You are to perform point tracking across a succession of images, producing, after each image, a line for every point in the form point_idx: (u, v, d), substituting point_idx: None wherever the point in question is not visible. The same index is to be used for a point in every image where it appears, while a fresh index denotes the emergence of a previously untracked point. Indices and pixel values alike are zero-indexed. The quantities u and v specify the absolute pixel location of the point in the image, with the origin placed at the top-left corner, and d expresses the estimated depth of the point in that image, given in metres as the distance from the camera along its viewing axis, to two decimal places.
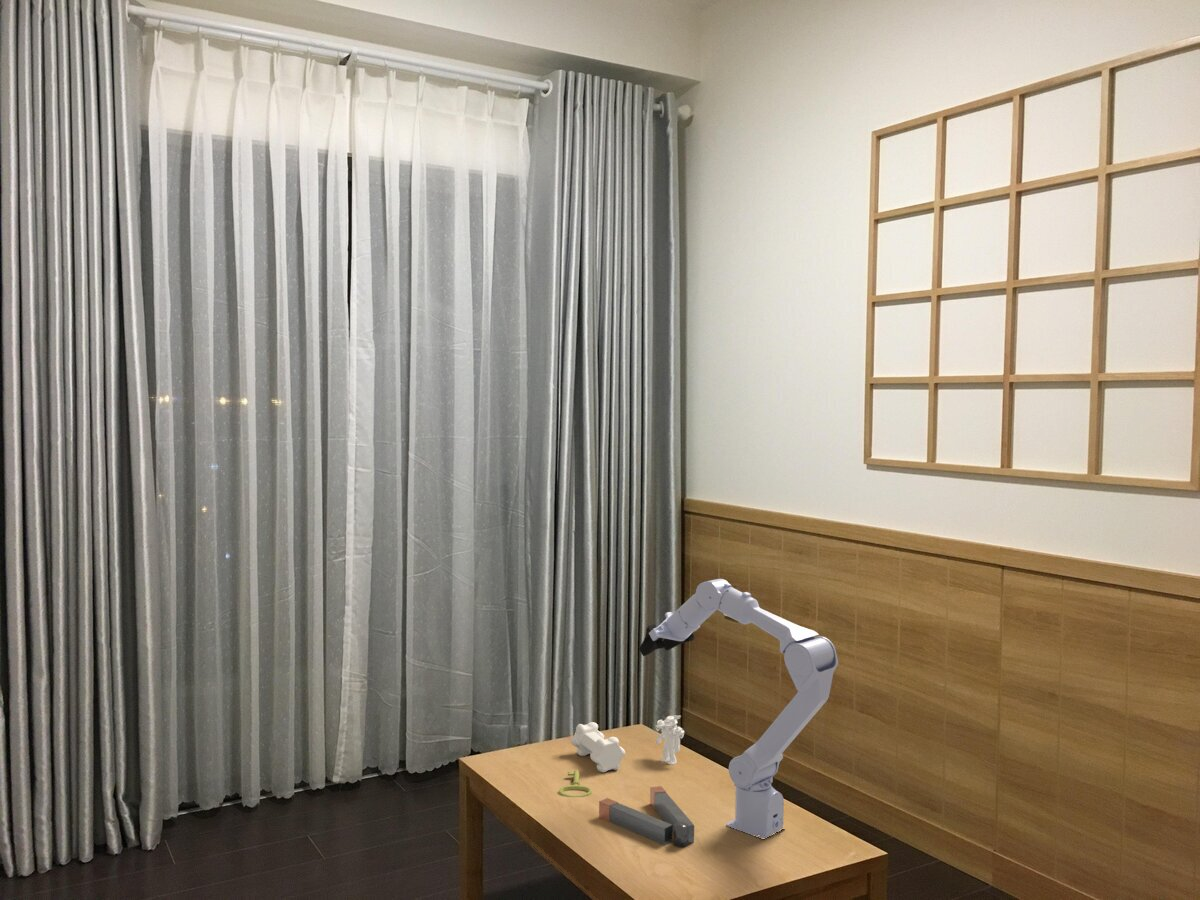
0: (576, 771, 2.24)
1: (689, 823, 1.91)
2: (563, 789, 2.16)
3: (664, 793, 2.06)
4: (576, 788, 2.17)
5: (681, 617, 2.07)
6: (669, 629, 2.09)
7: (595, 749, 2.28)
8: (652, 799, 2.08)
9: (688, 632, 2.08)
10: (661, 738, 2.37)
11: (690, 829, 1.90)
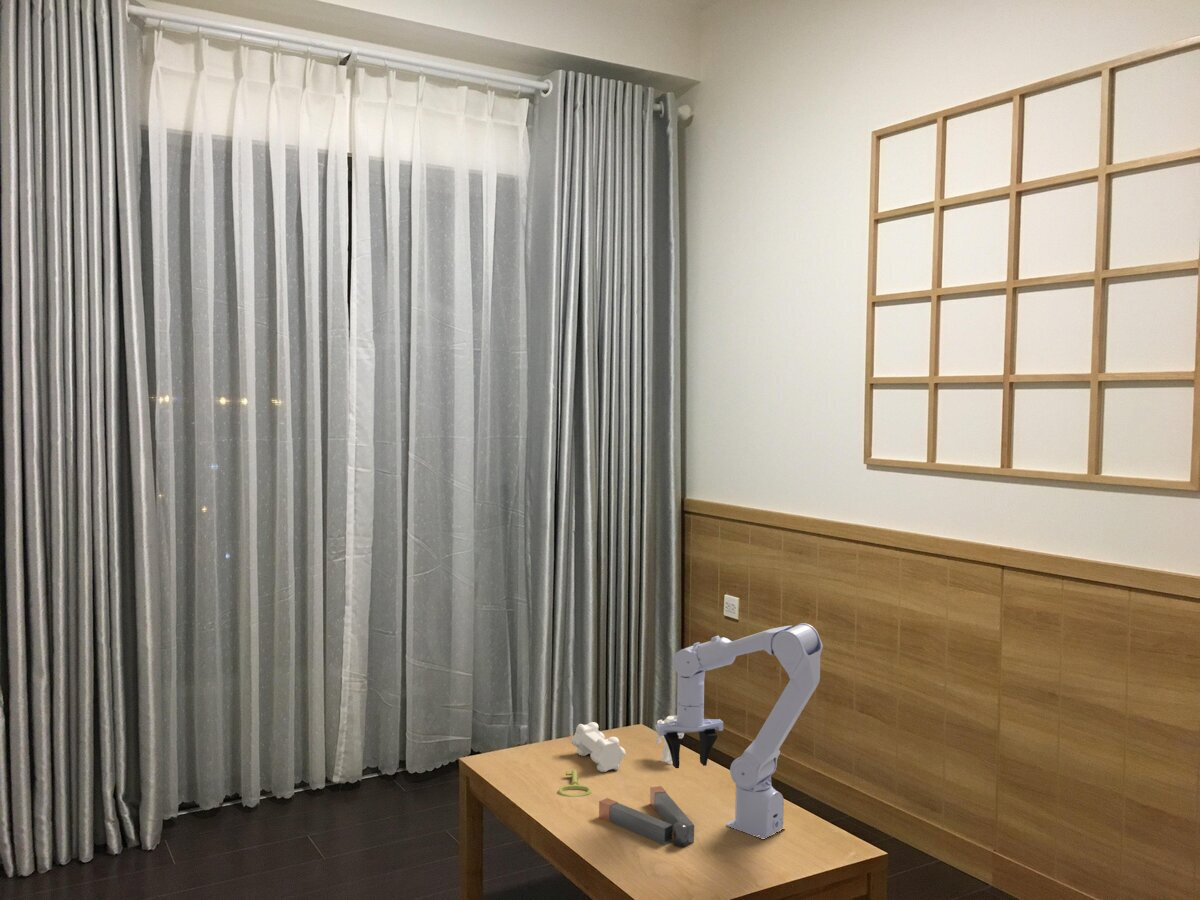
0: (574, 771, 2.24)
1: (689, 823, 1.91)
2: (562, 789, 2.16)
3: (664, 793, 2.06)
4: (575, 788, 2.17)
5: (683, 704, 2.04)
6: (677, 723, 2.06)
7: (595, 749, 2.28)
8: (652, 799, 2.08)
9: (691, 715, 2.04)
10: (661, 738, 2.37)
11: (690, 829, 1.90)
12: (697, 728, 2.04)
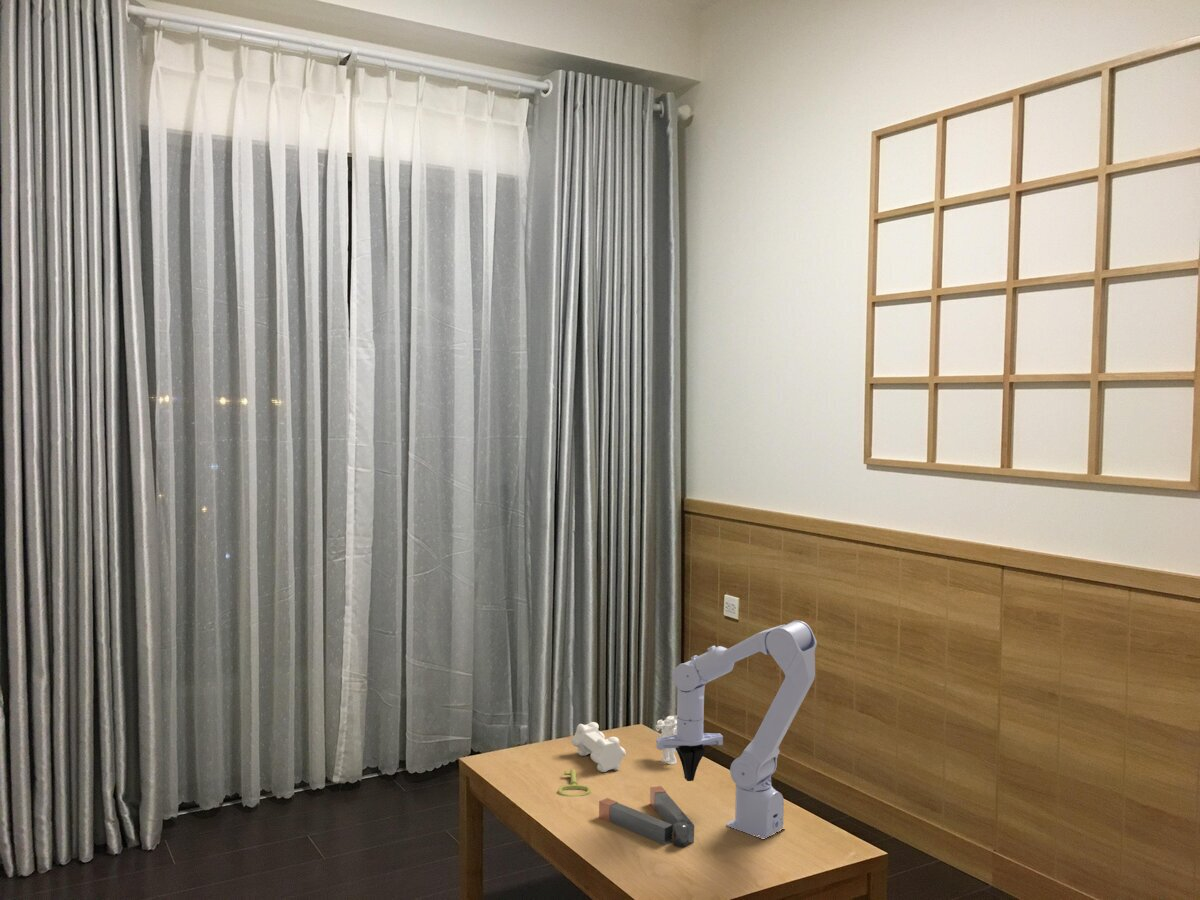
0: (572, 770, 2.24)
1: (689, 823, 1.91)
2: (562, 789, 2.16)
3: (664, 793, 2.06)
4: (574, 787, 2.17)
5: (683, 719, 2.04)
6: (677, 737, 2.06)
7: (595, 749, 2.29)
8: (652, 799, 2.08)
9: (691, 730, 2.04)
10: None
11: (690, 829, 1.90)
12: (697, 742, 2.04)
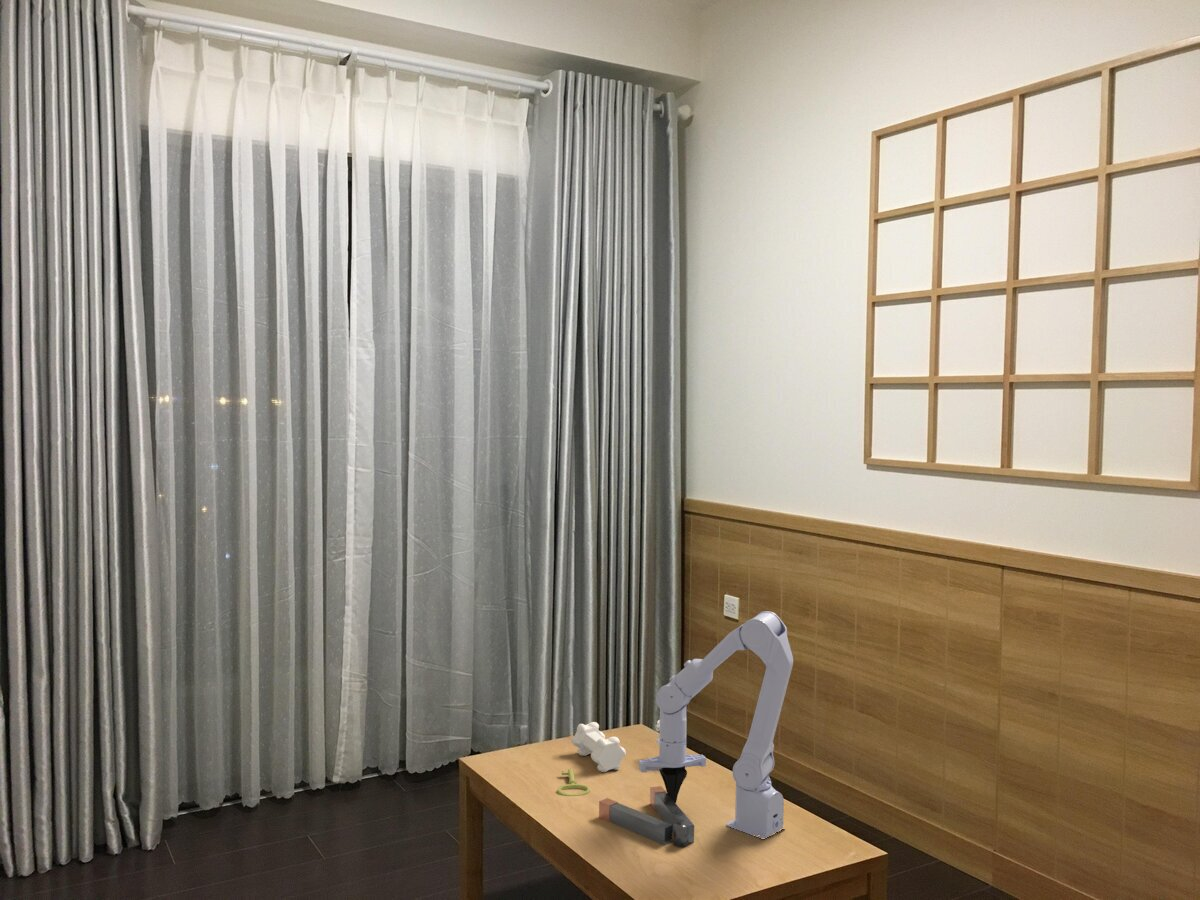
0: (570, 770, 2.24)
1: (689, 823, 1.91)
2: (561, 788, 2.16)
3: (664, 793, 2.06)
4: (573, 787, 2.17)
5: (667, 741, 2.03)
6: (659, 759, 2.05)
7: (596, 749, 2.29)
8: (652, 799, 2.08)
9: (673, 752, 2.03)
10: None
11: (690, 829, 1.90)
12: (679, 764, 2.03)
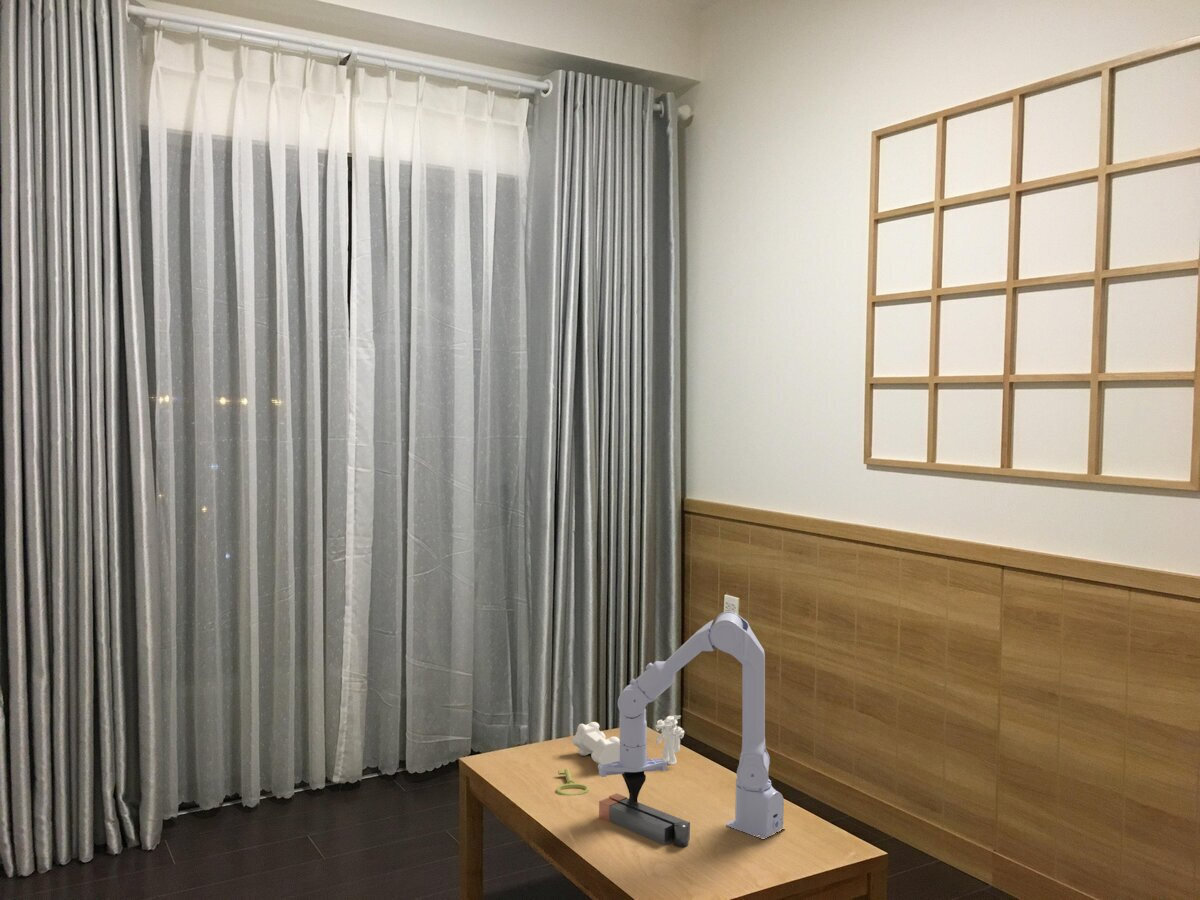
0: (567, 770, 2.24)
1: (684, 821, 1.92)
2: (560, 788, 2.16)
3: (627, 799, 2.03)
4: (572, 786, 2.18)
5: (630, 746, 2.01)
6: (620, 764, 2.03)
7: (596, 749, 2.29)
8: None
9: (633, 756, 2.01)
10: (661, 738, 2.37)
11: None
12: (639, 769, 2.01)
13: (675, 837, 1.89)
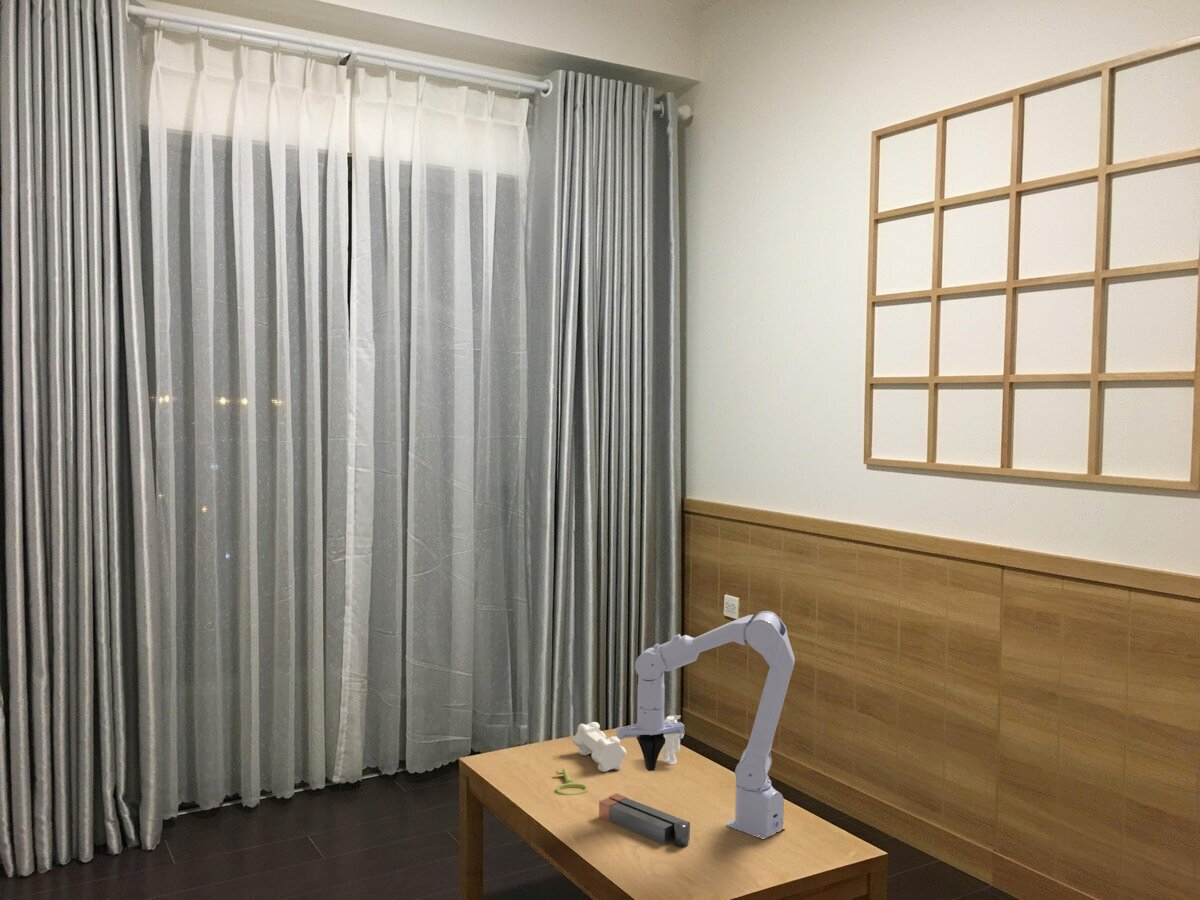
0: (565, 769, 2.25)
1: (684, 821, 1.92)
2: (559, 788, 2.16)
3: (627, 799, 2.03)
4: (571, 786, 2.18)
5: (646, 708, 2.02)
6: (637, 727, 2.03)
7: (596, 749, 2.29)
8: None
9: (651, 718, 2.01)
10: None
11: None
12: (657, 731, 2.02)
13: (675, 837, 1.89)
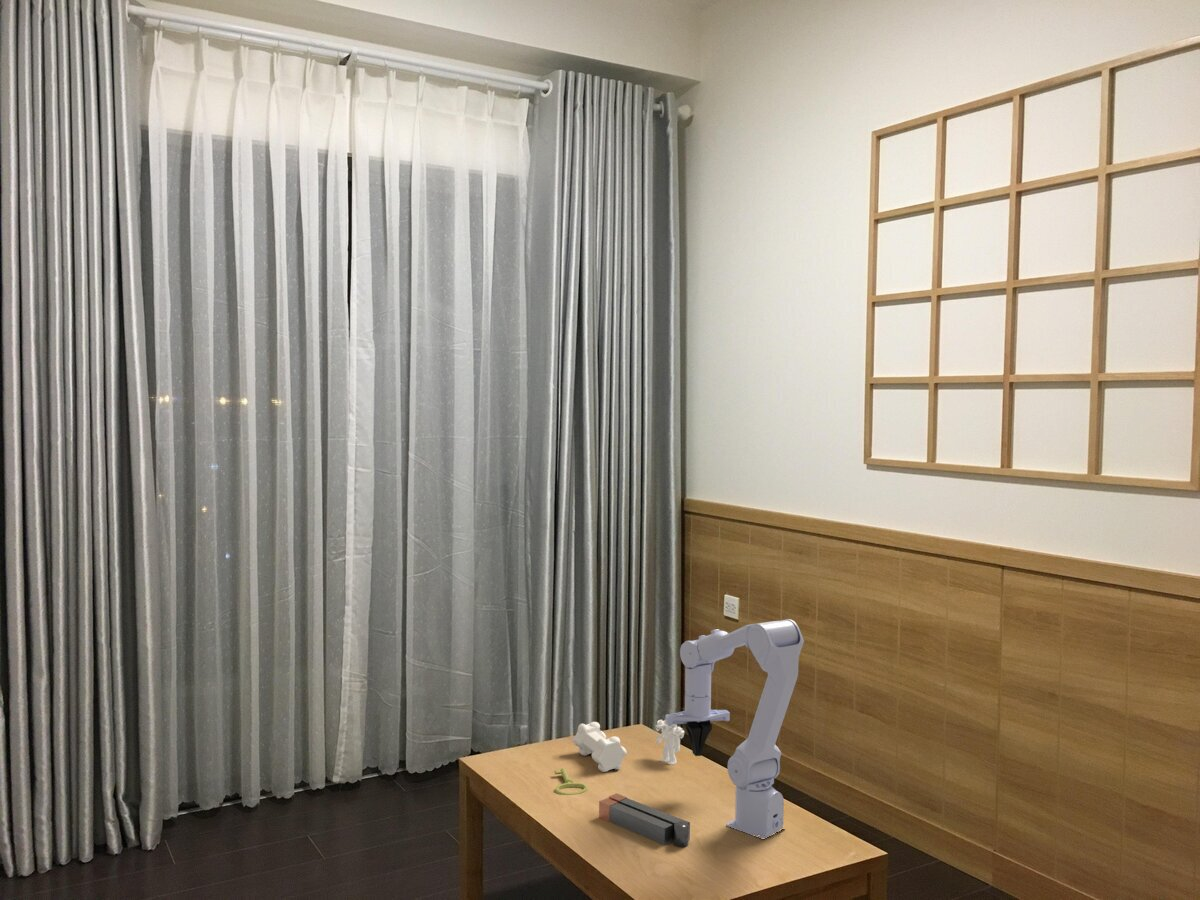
0: (563, 769, 2.25)
1: (684, 821, 1.92)
2: (558, 788, 2.16)
3: (627, 799, 2.03)
4: (570, 786, 2.18)
5: (687, 694, 2.12)
6: (685, 714, 2.12)
7: (596, 749, 2.29)
8: None
9: (699, 706, 2.10)
10: (661, 738, 2.37)
11: None
12: (704, 718, 2.11)
13: (675, 837, 1.89)
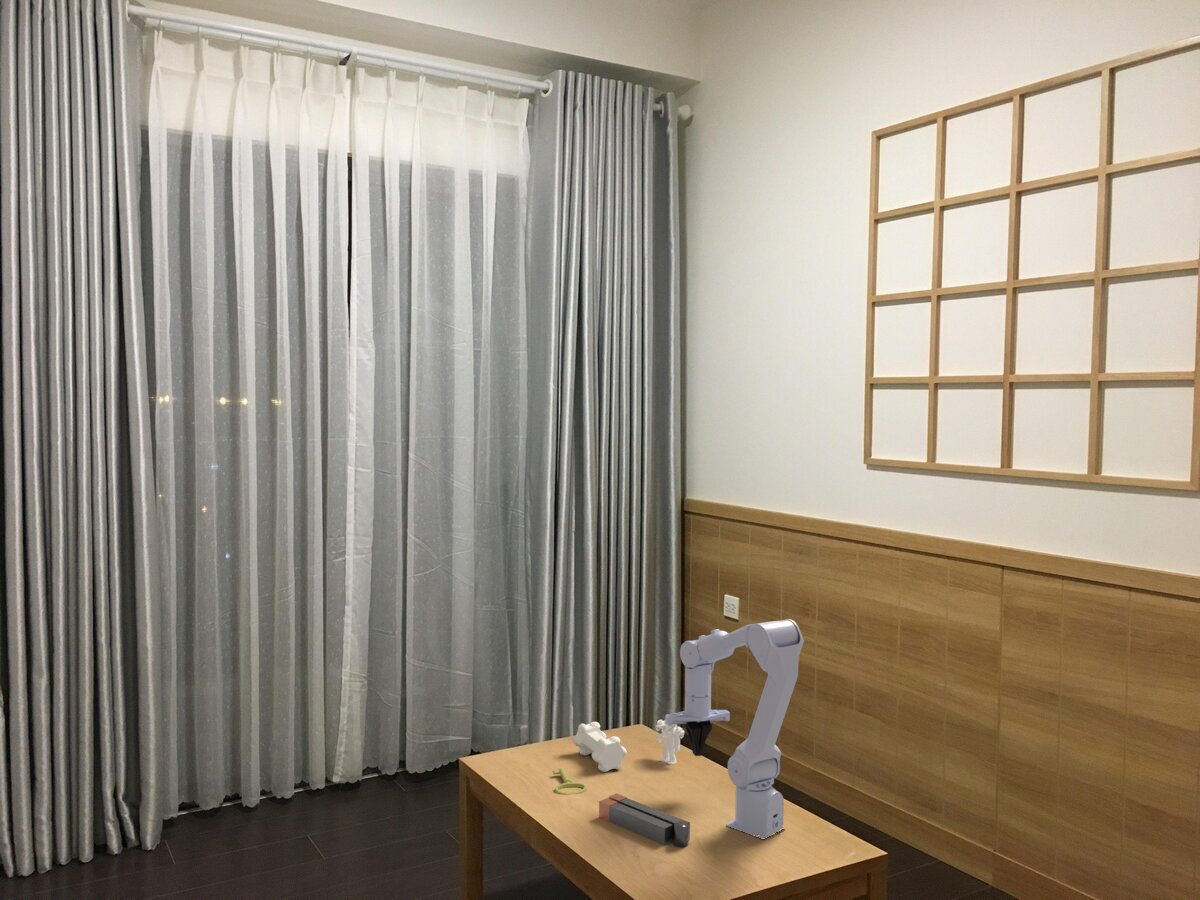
0: (561, 769, 2.25)
1: (684, 821, 1.92)
2: (558, 788, 2.16)
3: (627, 799, 2.03)
4: (569, 785, 2.18)
5: (687, 694, 2.12)
6: (685, 714, 2.12)
7: (597, 749, 2.29)
8: None
9: (699, 706, 2.10)
10: (661, 738, 2.37)
11: None
12: (704, 718, 2.11)
13: (675, 837, 1.89)
